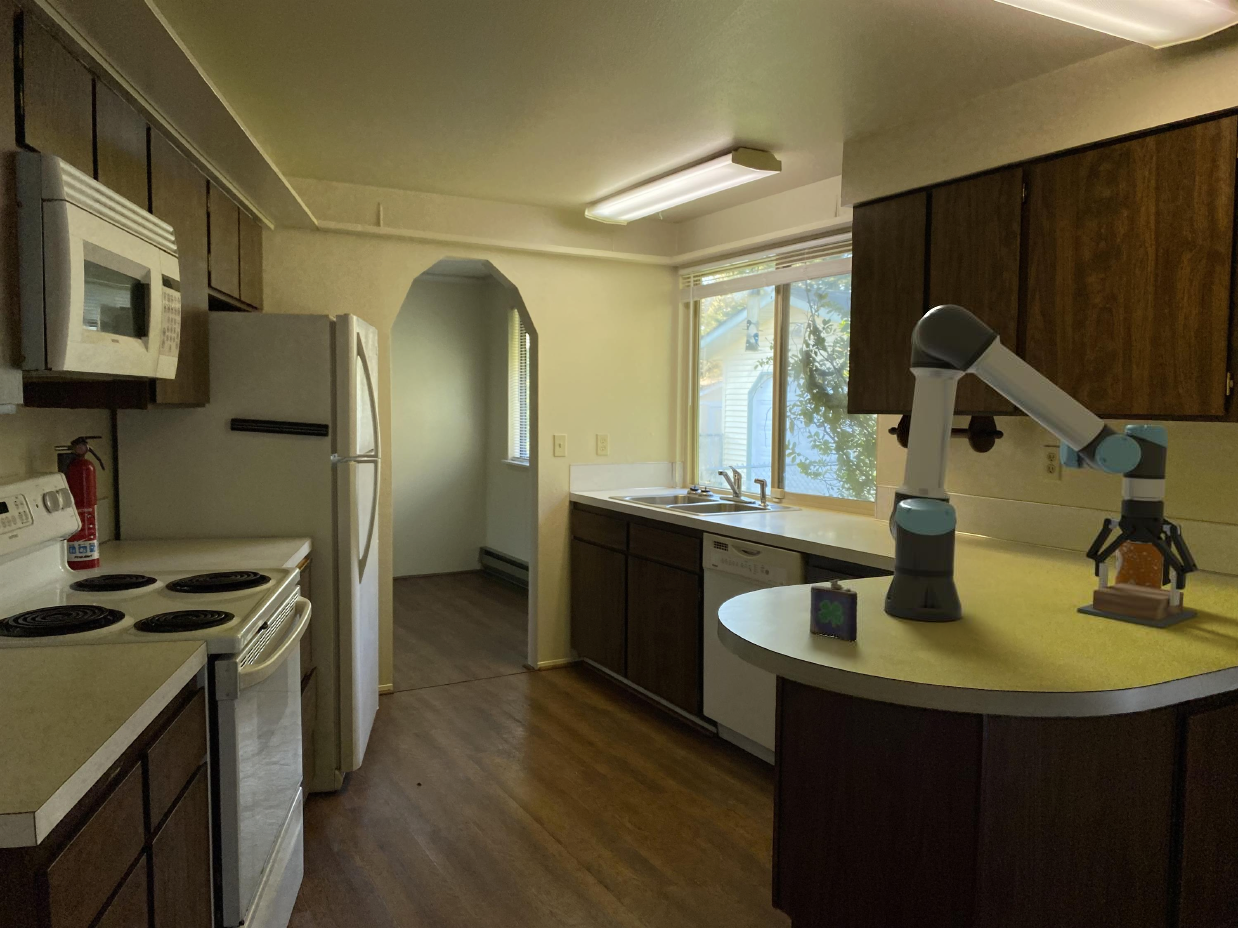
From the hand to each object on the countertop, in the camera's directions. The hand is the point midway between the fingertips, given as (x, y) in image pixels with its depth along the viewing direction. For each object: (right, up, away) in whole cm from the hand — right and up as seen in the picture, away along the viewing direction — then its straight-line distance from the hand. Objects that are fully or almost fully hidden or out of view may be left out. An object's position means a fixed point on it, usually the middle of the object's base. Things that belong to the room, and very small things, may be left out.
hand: (1137, 598), depth 170 cm
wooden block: (0, -3, 0) cm, 3 cm away
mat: (0, -3, 0) cm, 3 cm away
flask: (-70, -4, -20) cm, 73 cm away
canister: (+10, -3, +14) cm, 17 cm away
